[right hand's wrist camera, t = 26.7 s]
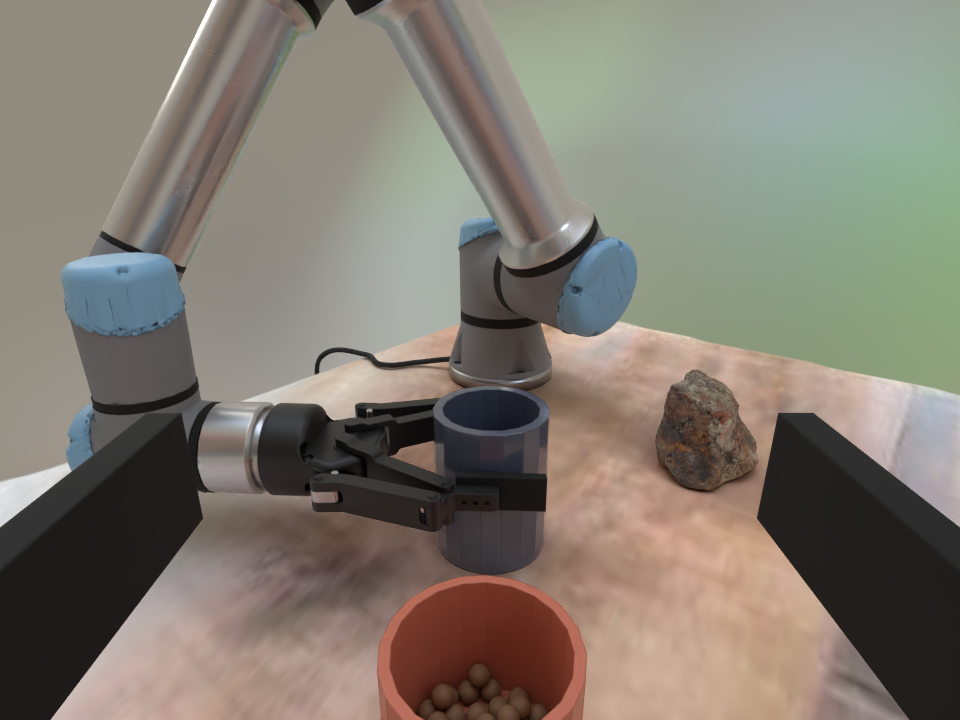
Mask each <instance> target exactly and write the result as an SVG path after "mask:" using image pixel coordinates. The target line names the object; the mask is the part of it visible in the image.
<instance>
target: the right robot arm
mask: <svg viewBox="0 0 960 720" xmlns="http://www.w3.org/2000/svg"><path fill="white" fill-rule="evenodd" d="M202 519H203V516H202V511H201V506H200V501H199V496H198V491H197V486H196V481H195V477H194V472H193V467H192V462H191V457H190V452H189V447H188V442H187V437H186V432H185V427H184V422H183V417H182V413H146V414H145V415H144V416H142V417H141V418H140V419H138V420H137V421H136V422H135V423H133V424H132V425H131V426H129V427H128V428H127V429H126V430H124V431H123V432H122V433H121V434H119V435H118V436H117V437H115V438H114V439H113V440H112V441H110V442H109V443H108V444H106V445H105V446H104V447H103V448H101V449H100V450H99V451H97V452H96V453H95V454H94V455H92V456H91V457H90V458H89V459H87V460H86V461H85V462H83V463H82V464H81V465H80V466H78V467H77V468H76V469H74V470H73V471H72V472H71V473H69V474H68V475H67V476H65V477H64V478H63V479H62V480H60V481H59V482H58V483H57V484H55V485H54V486H53V487H51V488H50V489H49V490H48V491H46V492H45V493H44V494H42V495H41V496H40V497H39V498H37V499H36V500H35V501H33V502H32V503H31V504H30V505H28V506H27V507H26V508H25V509H23V510H22V511H21V512H19V513H18V514H17V515H16V516H14V517H13V518H12V519H10V520H9V521H8V522H7V523H5V524H4V525H3V526H1V527H0V720H51V718H52V717H53V716H54V714H55V713H56V712H57V710H58V709H59V708H60V706H61V705H62V704H63V703H64V701H65V700H66V699H67V697H68V696H69V695H70V693H71V692H72V691H73V689H74V688H75V687H76V685H77V684H78V683H79V681H80V680H81V679H82V677H83V676H84V675H85V673H86V672H87V671H88V670H89V668H90V667H91V666H92V664H93V663H94V662H95V660H96V659H97V658H98V656H99V655H100V654H101V652H102V651H103V650H104V648H105V647H106V646H107V644H108V643H109V642H110V640H111V639H112V638H113V637H114V635H115V634H116V633H117V631H118V630H119V629H120V627H121V626H122V625H123V623H124V622H125V621H126V619H127V618H128V617H129V615H130V614H131V613H132V611H133V610H134V609H135V607H136V606H137V605H138V604H139V602H140V601H141V600H142V598H143V597H144V596H145V594H146V593H147V592H148V590H149V589H150V588H151V586H152V585H153V584H154V582H155V581H156V580H157V578H158V577H159V576H160V574H161V573H162V572H163V571H164V569H165V568H166V567H167V565H168V564H169V563H170V561H171V560H172V559H173V557H174V556H175V555H176V553H177V552H178V551H179V549H180V548H181V547H182V545H183V544H184V543H185V541H186V540H187V539H188V538H189V536H190V535H191V534H192V532H193V531H194V530H195V528H196V527H197V526H198V524H199V523H200V522H201V520H202ZM757 519H758V520H759V522H760V523H761V524H762V526H763V527H764V528H765V530H766V531H767V532H768V534H769V535H770V536H771V538H772V539H773V540H774V541H775V543H776V544H777V545H778V547H779V548H780V549H781V551H782V552H783V553H784V555H785V556H786V557H787V559H788V560H789V561H790V563H791V564H792V565H793V567H794V568H795V569H796V571H797V572H798V573H799V574H800V576H801V577H802V578H803V580H804V581H805V582H806V584H807V585H808V586H809V588H810V589H811V590H812V592H813V593H814V594H815V596H816V597H817V598H818V600H819V601H820V602H821V604H822V605H823V606H824V607H825V609H826V610H827V611H828V613H829V614H830V615H831V617H832V618H833V619H834V621H835V622H836V623H837V625H838V626H839V627H840V629H841V630H842V631H843V633H844V634H845V635H846V637H847V638H848V639H849V640H850V642H851V643H852V644H853V646H854V647H855V648H856V650H857V651H858V652H859V654H860V655H861V656H862V658H863V659H864V660H865V662H866V663H867V664H868V666H869V667H870V668H871V670H872V671H873V672H874V673H875V675H876V676H877V677H878V679H879V680H880V681H881V683H882V684H883V685H884V687H885V688H886V689H887V691H888V692H889V693H890V695H891V696H892V697H893V699H894V700H895V701H896V703H897V704H898V705H899V706H900V708H901V709H902V710H903V712H904V713H905V714H906V716H907V717H908V718H909V720H960V527H959V526H957V525H956V524H955V523H953V522H952V521H951V520H950V519H948V518H947V517H946V516H944V515H943V514H942V513H941V512H939V511H938V510H937V509H935V508H934V507H933V506H932V505H930V504H929V503H928V502H927V501H925V500H924V499H923V498H921V497H920V496H919V495H918V494H916V493H915V492H914V491H912V490H911V489H910V488H909V487H907V486H906V485H905V484H903V483H902V482H901V481H900V480H898V479H897V478H896V477H895V476H893V475H892V474H891V473H889V472H888V471H887V470H886V469H884V468H883V467H882V466H880V465H879V464H878V463H877V462H875V461H874V460H873V459H871V458H870V457H869V456H868V455H866V454H865V453H864V452H863V451H861V450H860V449H859V448H857V447H856V446H855V445H854V444H852V443H851V442H850V441H848V440H847V439H846V438H845V437H843V436H842V435H841V434H839V433H838V432H837V431H836V430H834V429H833V428H832V427H831V426H829V425H828V424H827V423H825V422H824V421H823V420H822V419H820V418H819V417H818V416H816V415H815V414H814V413H778V417H777V422H776V427H775V432H774V437H773V442H772V447H771V452H770V457H769V462H768V467H767V472H766V477H765V481H764V486H763V491H762V496H761V501H760V506H759V511H758V516H757Z"/></svg>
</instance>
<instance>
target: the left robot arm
mask: <svg viewBox="0 0 960 720" xmlns="http://www.w3.org/2000/svg"><path fill="white" fill-rule="evenodd" d="M333 1H334V0H213V1H212V2H211V4H210V7H209V9H208V11H207V13H206V15H205V17H204V19H203V21H202V23H201V25H200V27H199V29H198V31H197V33H196V36H195V38H194V40H193V42H192V44H191V46H190V48H189V50H188V52H187V54H186V56H185V58H184V60H183V62H182V64H181V66H180V68H179V71H178V73H177V75H176V77H175V79H174V81H173V83H172V85H171V87H170V89H169V91H168V93H167V95H166V98H165V99H164V101H163V104H162V106H161V108H160V110H159V112H158V114H157V116H156V118H155V120H154V122H153V124H152V126H151V129H150V131H149V132H148V135H147V137H146V139H145V141H144V143H143V145H142V147H141V149H140V151H139V153H138V155H137V157H136V159H135V161H134V163H133V166H132V168H131V170H130V172H129V174H128V176H127V178H126V180H125V182H124V184H123V186H122V188H121V190H120V192H119V194H118V197H117V198H116V201H115V203H114V205H113V207H112V209H111V211H110V213H109V215H108V217H107V219H106V221H105V223H104V225H103V227H102V232H101V234H100V236H99V237H98V239H97V241H96V242H95V244H94V246H93V248H92V250H91V253H90V255H89V257H85V258H81V259H79V260H77V261H73V262H70V263H68V264H67V265H66V266H65V267H64V269H63V270H62V274H61V279H62V285H63V289H64V294H65V298H64V300H65V305H66V310H65V311H66V312H67V316H68V318H69V319H70V321H71V325H72V329H73V332H74V336H75V339H76V343H77V347H78V350H79V354H80V357H81V361H82V364H83V367H84V371H85V374H86V378H87V381H88V384H89V388H90V391H91V399H92V403H90V404H89V405H87V406H85V407H84V408H83V409H82V410H81V411H80V412H79V413H78V414H77V415H76V417H75V418H74V420H73V422H72V424H71V426H70V428H69V431H68V437H69V438H70V446H69V447H68V448H67V449H66V455H67V461H68V464H69V466H70V469H71V470H72V471H73V470H74V469H76V468H77V467H78V466H80V465H81V464H82V463H83V462H85V461H86V460H87V459H89V458H90V457H91V456H92V455H94V454H95V453H96V452H97V451H99V450H100V449H101V448H103V447H104V446H105V445H106V444H108V443H109V442H110V441H112V440H113V439H114V438H115V437H117V436H118V435H119V434H121V433H122V432H123V431H124V430H126V429H127V428H128V427H129V426H131V425H132V424H133V423H135V422H136V421H137V420H138V419H140V418H141V417H142V416H144V415H145V414H146V413H182V417H183V422H184V427H185V432H186V437H187V442H188V447H189V452H190V457H191V462H192V467H193V472H194V477H195V481H196V486H197V491H202V492H205V493H206V492H212V493H213V492H223V493H243V494H263V493H265V492H266V491H268V492H269V493H270V494H272V495H289V496H311V498H312V506H313V510H314V511H316V512H346V513H350V514H354V515H359V516H363V517H368V518H372V519H376V520H381V521H385V522H390V523H394V524H398V525H403V526H407V527H412V528H416V529H420V530H425V531H429V532H436V531H439V530H440V529H441V528H442V525H450V524H452V523H453V522H454V511H481V512H483V511H484V512H493V511H498V510H505V511H537V512H546V492H547V474H536V473H500V472H465V471H456V476H455V482H456V484H454V482H453V480H451V479H449V478H447V477H444V476H441V475H438V474H436V473H433V472H430V471H428V470H425V469H422V468H419V467H417V466H414V465H411V464H408V463H406V462H403V461H400V460H397V459H395V458H392V457H389V456H392V455H395V454H396V453H397V452H398V451H399V449H400V448H404V447H408V446H412V445H417V444H421V443H425V442H429V441H434V433H433V408H434V406H435V404H436V403H437V401H438V400H439V399H441V398H435V399H424V400H414V401H403V402H392V403H382V404H380V403H358V404H356V405H355V411H356V415H355V417H354V418H348V419H342V420H335V421H334V420H332V419H330V418H329V417H328V415H327V414H326V412H325V410H324V409H323V408H322V407H321V406H319V405H317V404H295V403H280V404H278V405H276V406H274V405H273V404H272V403H268V402H212V401H202V400H201V398H200V392H199V384H198V379H197V377H196V373H195V367H194V361H193V355H192V349H191V343H190V338H189V332H188V326H187V320H186V314H185V308H184V305H185V296H184V295H183V293H182V291H181V287H180V285H179V282H180V280H181V278H182V276H183V273H184V271H185V269H186V266H187V264H188V262H189V260H190V258H191V256H192V254H193V252H194V250H195V248H196V246H197V244H198V242H199V240H200V238H201V236H202V234H203V232H204V230H205V228H206V226H207V224H208V222H209V220H210V218H211V215H212V213H213V211H214V209H215V207H216V205H217V203H218V201H219V199H220V197H221V195H222V193H223V191H224V189H225V187H226V185H227V183H228V181H229V179H230V177H231V175H232V173H233V171H234V169H235V167H236V164H237V162H238V160H239V158H240V156H241V154H242V152H243V150H244V148H245V146H246V144H247V142H248V140H249V138H250V136H251V134H252V132H253V130H254V128H255V126H256V124H257V122H258V120H259V118H260V116H261V114H262V112H263V110H264V108H265V105H266V103H267V101H268V99H269V97H270V95H271V93H272V91H273V89H274V87H275V85H276V83H277V81H278V79H279V77H280V75H281V73H282V71H283V69H284V67H285V65H286V63H287V61H288V59H289V57H290V55H291V52H292V51H293V49H294V46H295V44H296V42H297V41H298V40H301V39H306V38H310V37H312V36H313V34H314V32H315V30H316V28H317V26H318V24H319V22H320V20H321V18H322V17H323V15H324V13H325V12H326V11H327V9H328V8H329V6H330V5H331V4H332V2H333ZM346 2H347V3H348V5H349V7H350V8H351V10H352V12H353V13H354V15H355V17H356V18H357V19H359V20H362V21H365V22H368V23H372V24H375V25H377V26H379V27H380V28H382V29H383V30H384V32H385V33H386V35H387V37H388V39H389V40H390V42H391V44H392V45H393V47H394V49H395V51H396V52H397V54H398V56H399V58H400V59H401V61H402V63H403V65H404V66H405V68H406V70H407V72H408V73H409V75H410V77H411V78H412V80H413V82H414V84H415V85H416V87H417V89H418V91H419V92H420V94H421V96H422V98H423V99H424V101H425V103H426V104H427V106H428V108H429V110H430V111H431V113H432V115H433V117H434V118H435V120H436V122H437V124H438V125H439V127H440V129H441V130H442V132H443V134H444V136H445V137H446V139H447V141H448V143H449V144H450V146H451V148H452V150H453V151H454V153H455V155H456V157H457V158H458V160H459V162H460V163H461V165H462V167H463V169H464V170H465V172H466V174H467V176H468V177H469V179H470V181H471V182H472V184H473V186H474V188H475V189H476V191H477V193H478V195H479V196H480V198H481V200H482V202H483V203H484V205H485V207H486V208H487V210H488V212H489V214H490V215H491V217H492V218H479V219H469V220H467V221H465V222H464V223H463V225H462V226H461V230H460V241H459V247H458V248H459V251H460V297H461V325H460V328H459V331H458V334H457V338H456V341H455V344H454V347H453V350H452V353H451V357H439V358H430V359H422V360H412V361H405V362H397V363H385V362H380V361H378V360H377V359H376V358H375V357H374V356H373V355H372V354H370V353H367V352H362V351H358V350H353V349H349V348H331V349H328V350H326V351H324V352H322V353H321V354H320V355H319V357H318V358H317V360H316V363H315V375H317V374H319V367H320V363H321V361H322V359H323V358H324V357H325V356H327V355H328V354H331V353H335V352H345V353H351V354H355V355H359V356H364V357H368V358H369V359H370V360H371V361H372V362H373V363H374V364H375V365H377V366H380V367H386V368H396V367H404V366H411V365H420V364H429V363H438V362H449V374H450V377H451V378H452V379H453V380H454V381H455V382H457V383H458V384H460V385H463V386H465V387H468V388H472V387H479V386H502V387H509V388H516V389H520V390H528V389H532V388H535V387H538V386H540V385H542V384H544V383H545V382H547V381H548V380H549V379H550V377H551V368H552V361H551V359H552V358H551V356H550V353H549V351H548V348H547V344H546V341H545V337H544V334H543V330H542V327H541V323H543V324H546V325H549V326H552V327H554V328H557V329H559V330H561V331H562V332H564V333H566V334H575V335H579V336H583V337H591V336H597V335H600V334H602V333H604V332H605V331H607V330H608V329H610V328H611V327H612V326H613V325H614V324H615V323H616V322H617V321H618V320H619V319H620V318H621V316H622V315H623V313H624V312H625V310H626V308H627V307H628V305H629V303H630V301H631V298H632V294H633V291H634V289H635V285H636V280H637V263H636V258H635V255H634V252H633V250H632V249H631V247H630V246H629V245H628V244H627V243H625V242H623V241H621V240H620V239H618V238H616V237H615V238H614V237H609V238H607V237H606V236H604V234H603V233H602V231H601V228H600V226H599V224H598V222H597V219H596V217H595V215H594V213H593V211H592V209H591V207H590V206H589V205H588V204H587V203H586V202H584V201H581V200H576V199H572V198H571V196H570V194H569V192H568V190H567V187H566V185H565V183H564V181H563V179H562V177H561V175H560V172H559V170H558V168H557V166H556V164H555V161H554V159H553V157H552V155H551V153H550V150H549V148H548V146H547V144H546V142H545V140H544V137H543V135H542V133H541V131H540V129H539V127H538V124H537V122H536V120H535V118H534V116H533V113H532V111H531V109H530V107H529V105H528V103H527V100H526V98H525V96H524V94H523V92H522V90H521V87H520V85H519V83H518V81H517V79H516V77H515V74H514V72H513V70H512V68H511V66H510V64H509V61H508V59H507V57H506V55H505V53H504V50H503V48H502V46H501V44H500V42H499V40H498V37H497V35H496V33H495V31H494V29H493V27H492V24H491V22H490V20H489V18H488V16H487V14H486V11H485V9H484V7H483V5H482V3H481V0H346ZM420 507H421V508H423V509H424V513H421V510H420Z"/></svg>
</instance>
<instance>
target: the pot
mask: <svg viewBox="0 0 960 720" xmlns="http://www.w3.org/2000/svg"><path fill="white" fill-rule="evenodd" d="M586 653H587V652H586V649H585V646H584V643H583V640H582V637H581V634H580V631H579V628H578V627H577V625H576V624H575V623H574V621H573V620H572V619H571V617H570V616H569V615H568V614H567V612H566V611H565V610H564V608H563V607H562V606H561V605H560V604H559V603H557V602H556V601H554V600H553V599H552V598H550V597H549V596H548V595H546V594H545V593H544V592H542V591H541V590H539V589H537V588H535V587H532V586H530V585H527V584H525V583H522V582H520V581H517V580H514V579H509V578H502V577H496V576H489V575H480V576H466V577H460V578H459V577H458V578H454V579H451V580H448V581H445V582H441V583H438V584H435V585H432V586H430V587H429V588H427V589H425V590H424V591H422V592H420V593H419V594H417V595H415V596H414V597H412V598H410V600H408V601H407V602H406V604H405V605H404V606H403V607H402V608H401V609H400V610H399V611H398V612H397V613H396V614H395V615H394V616H393V617H392V619H391V620H390V622H389V624H388V626H387V629H386V631H385V633H384V635H383V637H382V639H381V641H380V644H379V653H378V665H377V675H378V687H379V699H380V711H381V720H424V719H422V718H420V717H419V716H418V708H419V706H420V705H421V703H422V702H423V701H425V700H427V699H431V697H432V691H433V690H434V688H435V687H436V686H438V685H440V684H447V685H450V686H452V687H454V688H455V689H456V691H457V694H458V687H459V686H460V684H461V683H462V682H463V681H465V680H467V679H468V680H469V670H470V669H471V668H472V666H473V665H475V664H477V663H481V664H484V665H485V666H487V667H488V669H489V671H490V678H494V679H495V680H497V681H498V682H499V683H500V686H501V695H500V697H503V698H505V699H506V700H507V701H508V694H509V693H510V691H511V690H512V689H514V688H516V687H520V688H523V689H524V690H525V691H527V693H528V695H529V702H530V704H531V707H532V706H533V705H535V704H541V705H543V706H544V707H546V708H547V709H548V712H549V713H548V714H547V715H546V716H545V717H544V718H543V719H542V720H582V716H583V705H584V693H585V682H586V662H587V654H586ZM431 700H432V699H431ZM474 703H481V704H483V705H484V706H485V707H486V708H487V711H488V704H489V703H490V702H487V701H485V700H484V699H483V698H482V696H481V694H480V688H479V697H478V698H477V700H476V701H475V702H474ZM474 703H472V704H474ZM457 704H459V705H460V706H461V707H462V708H463V709H464V712H465V714H466V713H467V710H468V708H469V707H470V706H471V705H472V704H464V703H463V702H462V701H461V700H460V699H459V696H458V702H457ZM444 711H445V710H441V709H440V712H443V713H444ZM465 720H467V719H466V716H465ZM525 720H528V719H527V718H526V719H525Z"/></svg>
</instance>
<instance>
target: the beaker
mask: <svg viewBox="0 0 960 720" xmlns="http://www.w3.org/2000/svg"><path fill="white" fill-rule="evenodd" d="M549 425H550V408H549V407H548V405H547V404H546V402H545V401H544V400H543V399H541V398H540V397H538V396H536V395H535V394H533V393H530V392H526V391H523V390H520V389H516V388H509V387H502V386H479V387H472V388H465V389H461V390H458V391H455V392H451V393H449V394H447V395H446V396H444V397H442V398H441V399H439V400H438V401H437V403H436V404H435V406H434V408H433V433H434V464H435V473H436V474H438V475H441V476H444V477H447V478H449V479H451V480H453V482H454V484H456V482H455V476H456V471H465V472H500V473H536V474H547V467H548V446H549ZM544 530H545V512H537V511H505V510H498V511H493V512H484V511H483V512H481V511H454V522H453V523H452V524H450V525H442V528H441V529H440V530H439V531H437V541H438V546H439V549H440V551H441V552H442V554H443V555H444V556H445V558H446V559H447V560H449V561H450V562H451V563H453V564H454V565H456V566H458V567H460V568H462V569H464V570H467V571H470V572H475V573H480V574H502V573H508V572H512V571H515V570H518V569H521V568H523V567H525V566H527V565H528V564H530V563H531V562H532V561H533V560H535V559H536V557H537V556H538V555H539V553H540V552H541V550H542V547H543V542H544Z"/></svg>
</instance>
